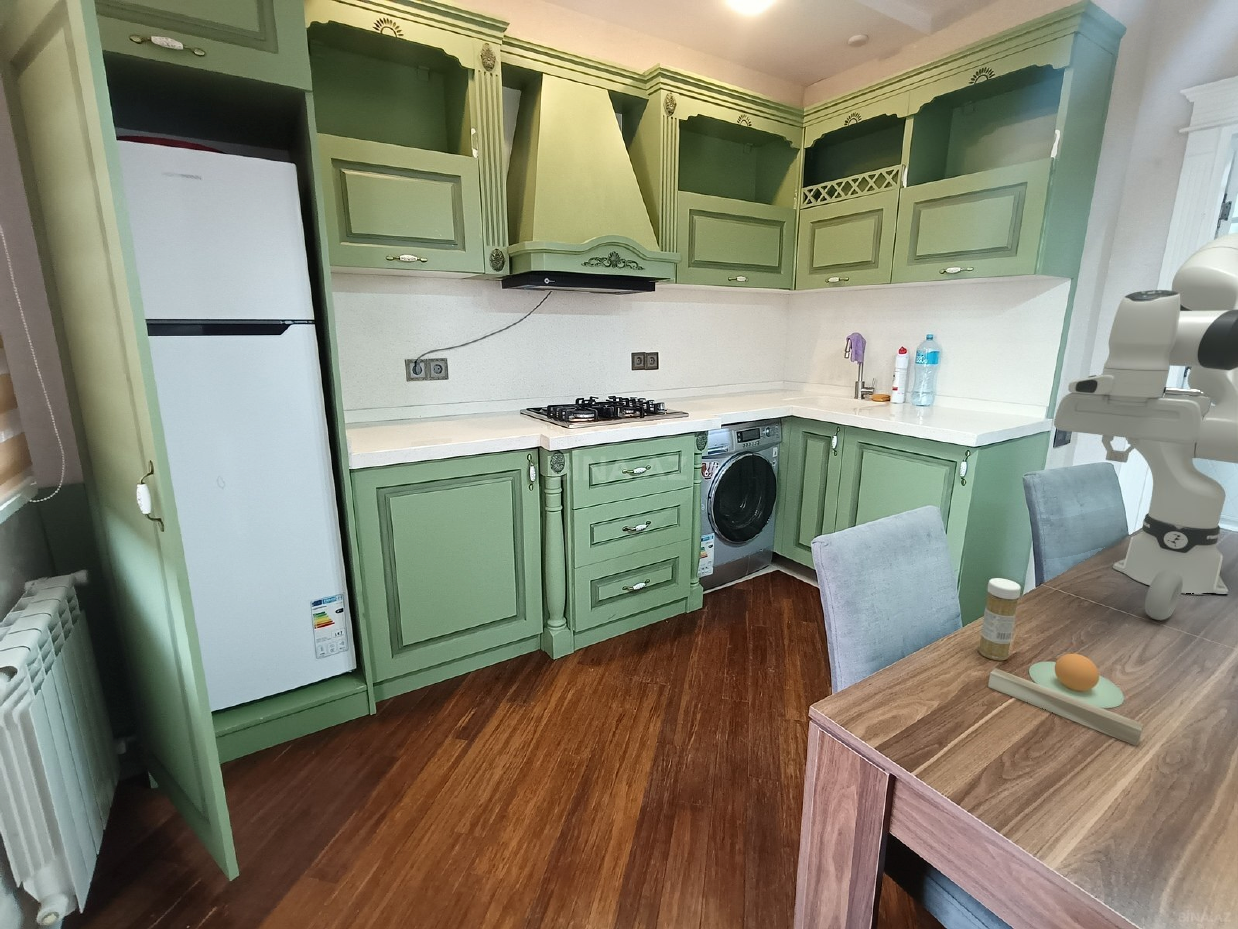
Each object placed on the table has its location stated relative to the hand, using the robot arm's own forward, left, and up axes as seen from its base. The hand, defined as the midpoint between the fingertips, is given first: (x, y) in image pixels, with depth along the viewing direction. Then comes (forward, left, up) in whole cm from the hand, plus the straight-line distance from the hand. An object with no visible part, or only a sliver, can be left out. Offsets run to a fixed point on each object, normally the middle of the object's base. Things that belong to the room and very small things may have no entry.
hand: (1116, 460), depth 107 cm
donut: (-9, +10, -31) cm, 34 cm away
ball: (+30, +4, -28) cm, 42 cm away
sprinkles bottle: (+29, -8, -31) cm, 43 cm away
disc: (+29, +4, -31) cm, 43 cm away
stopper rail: (+39, +4, -31) cm, 50 cm away
